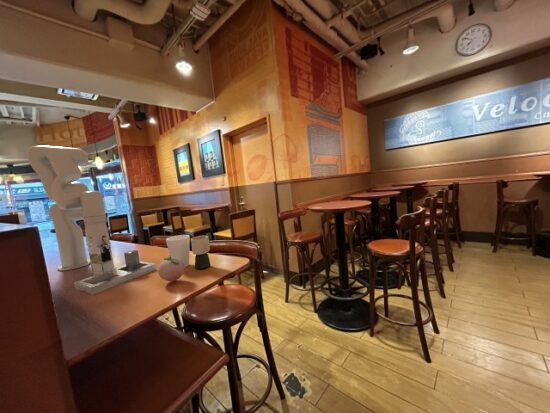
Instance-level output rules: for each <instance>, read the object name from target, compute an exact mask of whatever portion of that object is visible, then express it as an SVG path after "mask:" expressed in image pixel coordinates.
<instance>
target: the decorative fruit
mask: <svg viewBox="0 0 550 413" xmlns="http://www.w3.org/2000/svg"><path fill="white" fill-rule="evenodd" d="M184 272H185V265H184V263H183V262H182V261H181V260H180V259H173V258H171V256H170V255H169V256H167V257H164V258H163V260H162V261H161V262H160V263H159V265H158V267H157V274H158V276H159V278H161V280H165V281H168V282H172V283H174V282H176V281H177V280H179V279H180V278H181V277H182V276H183V275H184Z"/></svg>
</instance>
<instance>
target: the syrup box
mask: <svg viewBox="0 0 550 413" xmlns="http://www.w3.org/2000/svg"><path fill="white" fill-rule="evenodd" d="M87 245H88V246H87ZM101 245H105V244H101ZM86 246H87V249H88V250H87V251H88V256H89V260H90V262H91V263H90V267H91V272H92V273H91V274H92V276H94V275H97V274H100V273H103V272H106V271H109V270H112V269H115V264H114V258H113V254H112V253H113V252H112V246H111V245H110V255H111V260H109V261H106V262H102V258H101V253H102V252H101V249H100V246H99V247H98V248H95V247H93V246H92V243H87V244H86ZM103 249H104V247H103Z"/></svg>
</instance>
